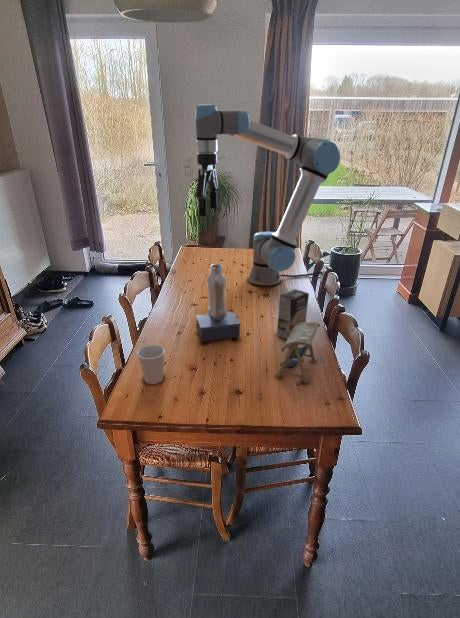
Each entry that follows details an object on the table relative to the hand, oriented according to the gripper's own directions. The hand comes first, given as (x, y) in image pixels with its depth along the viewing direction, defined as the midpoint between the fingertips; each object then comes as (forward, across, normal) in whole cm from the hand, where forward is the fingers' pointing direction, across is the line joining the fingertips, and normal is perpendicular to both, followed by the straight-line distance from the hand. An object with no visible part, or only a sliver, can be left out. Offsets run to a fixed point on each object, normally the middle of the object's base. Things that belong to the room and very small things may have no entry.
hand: (208, 212), depth 172 cm
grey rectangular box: (+37, +34, +14) cm, 52 cm away
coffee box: (+37, +24, +40) cm, 59 cm away
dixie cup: (+37, +67, +3) cm, 76 cm away
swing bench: (+37, +49, +46) cm, 76 cm away
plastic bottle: (+30, +34, +14) cm, 47 cm away
